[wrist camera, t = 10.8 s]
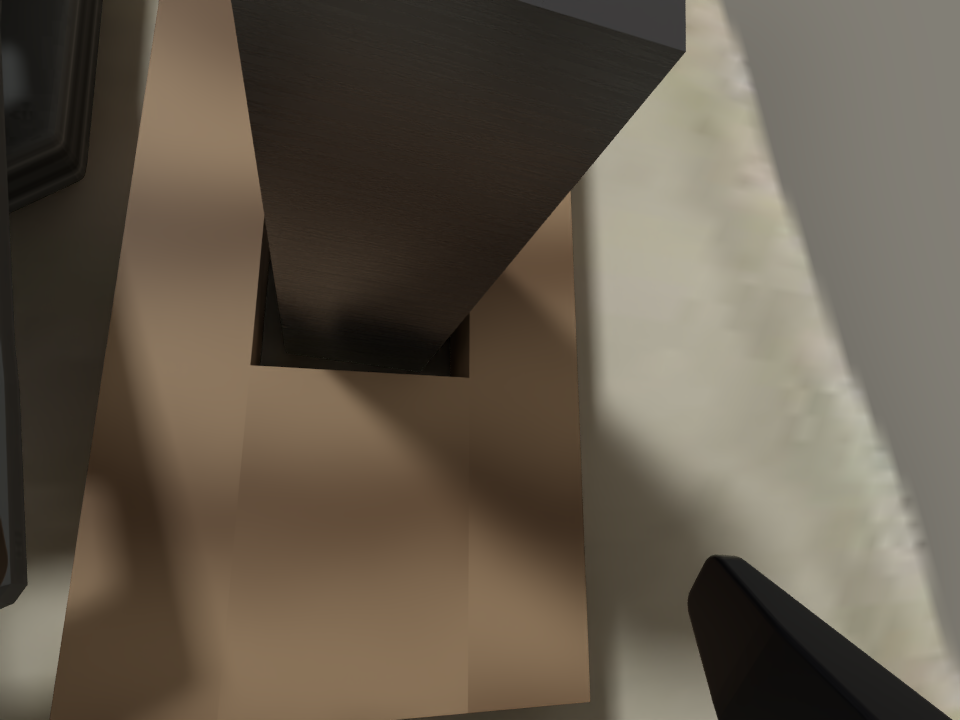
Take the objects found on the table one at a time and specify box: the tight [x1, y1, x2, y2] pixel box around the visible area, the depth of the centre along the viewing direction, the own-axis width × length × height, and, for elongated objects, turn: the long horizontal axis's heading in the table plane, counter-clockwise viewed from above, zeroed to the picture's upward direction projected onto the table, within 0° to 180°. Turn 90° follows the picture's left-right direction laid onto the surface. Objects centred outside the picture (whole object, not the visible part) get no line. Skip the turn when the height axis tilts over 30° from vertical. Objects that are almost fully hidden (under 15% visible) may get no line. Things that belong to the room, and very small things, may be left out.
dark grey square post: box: [231, 0, 686, 372], centre depth 12 cm, size 4×4×14 cm
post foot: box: [50, 0, 590, 720], centre depth 17 cm, size 22×12×2 cm, turn 0°
